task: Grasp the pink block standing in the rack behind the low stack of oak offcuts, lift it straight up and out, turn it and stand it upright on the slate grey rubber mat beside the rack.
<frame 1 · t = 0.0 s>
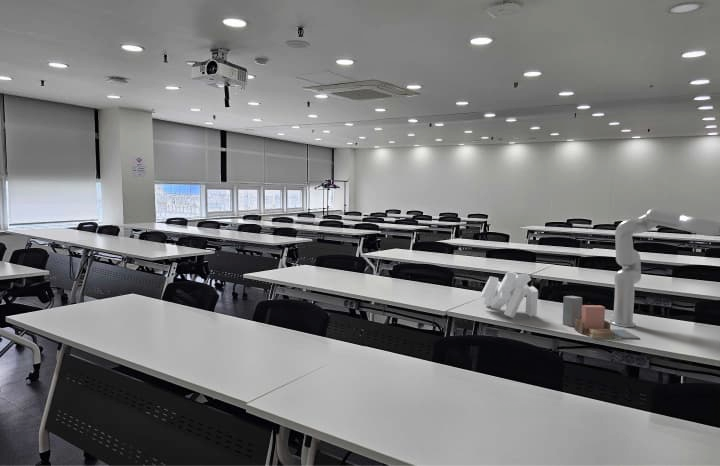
rack: (591, 332, 236), on the table
pile of blocks: (507, 313, 272), on the table
slate mat: (622, 334, 232), on the table
pink block: (591, 332, 236), resting in rack
skincare box: (571, 324, 250), on the table
offcut stack: (600, 336, 228), on the table
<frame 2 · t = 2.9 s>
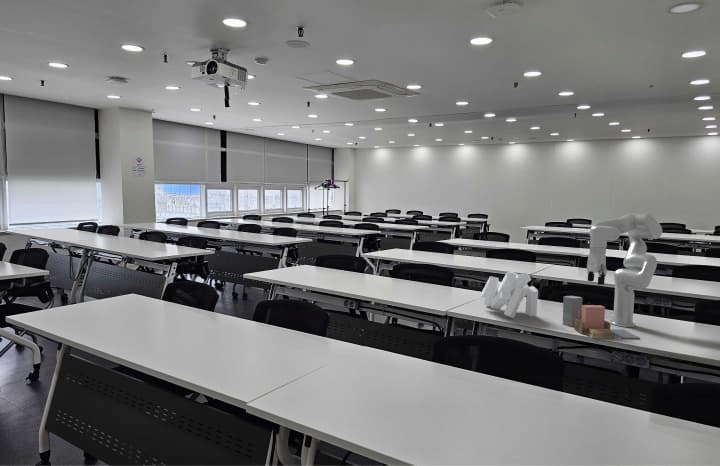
hand: (595, 282, 234), 26 cm above the table, tool pointing down, fingers open, 9 cm apart
nothing on the table moved.
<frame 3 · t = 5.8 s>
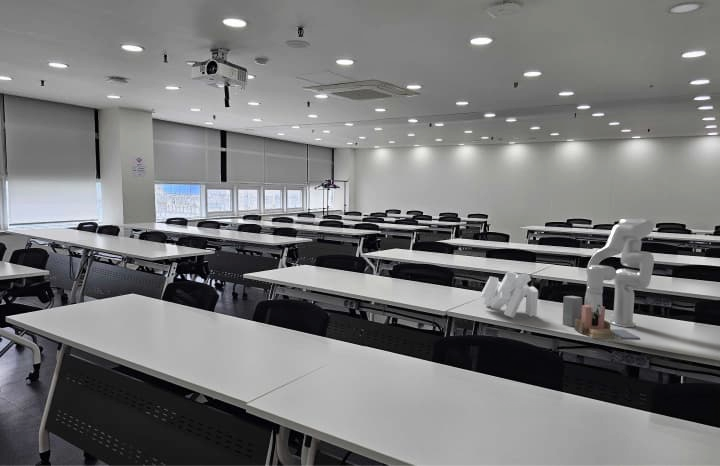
hand: (592, 324, 235), 4 cm above the table, tool pointing down, fingers closed on pink block, 4 cm apart
pink block: (591, 332, 236), resting in rack, touching gripper
everything else where it was.
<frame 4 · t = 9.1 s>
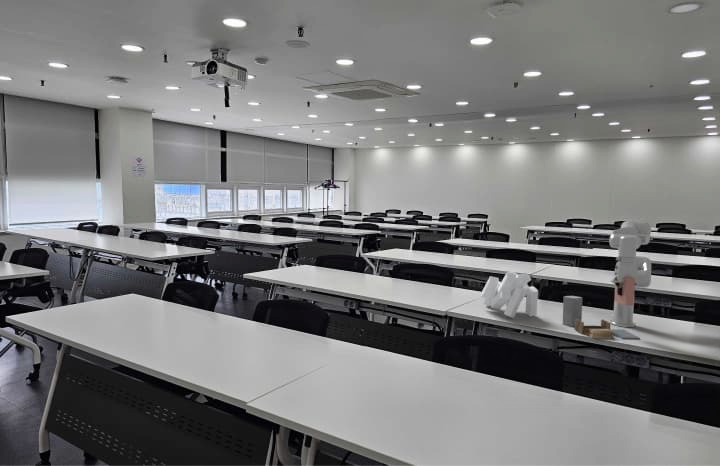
hand: (624, 294, 231), 21 cm above the table, tool pointing down, fingers closed on pink block, 4 cm apart
pink block: (623, 303, 231), point 17 cm above the table, touching gripper
everything else where it was.
when the fingers open (6 cm above the table, at t = 12.4 s): pink block stays where it is, resting on slate mat.
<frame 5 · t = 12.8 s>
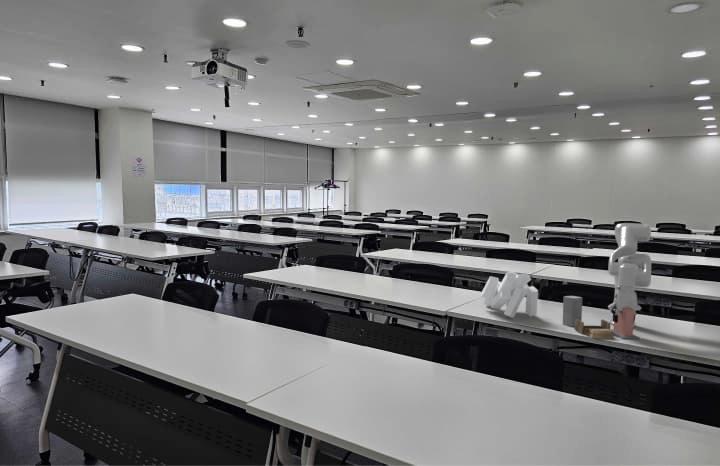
hand: (623, 322, 232), 7 cm above the table, tool pointing down, fingers open, 8 cm apart
pink block: (622, 333, 232), point 1 cm above the table, touching slate mat
everything else where it was.
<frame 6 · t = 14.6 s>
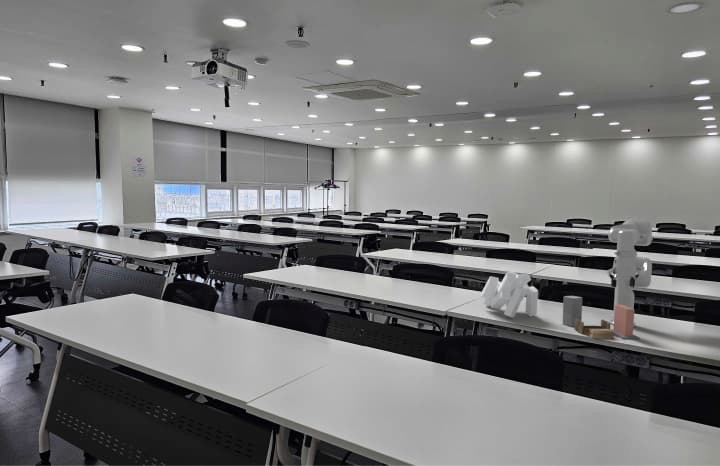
hand: (622, 286, 232), 25 cm above the table, tool pointing down, fingers open, 9 cm apart
nothing on the table moved.
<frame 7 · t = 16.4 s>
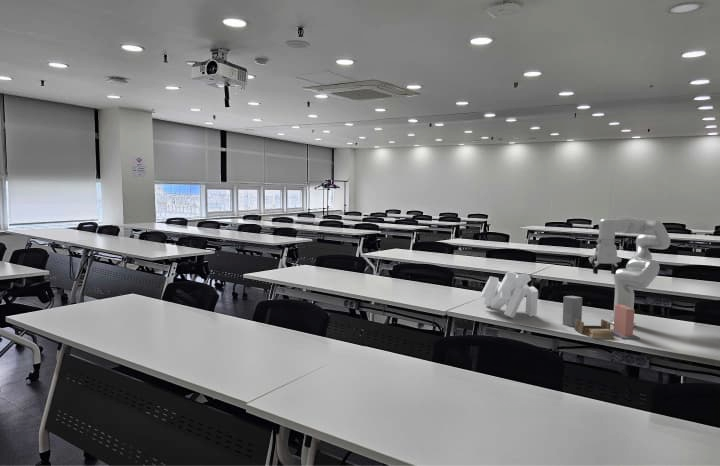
hand: (604, 273, 240), 30 cm above the table, tool pointing down, fingers open, 9 cm apart
nothing on the table moved.
at the end: pink block inside the target area (0.0 cm from its centre), point 0.8 cm above the table; pink block tilted 0°; the gripper is holding nothing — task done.
